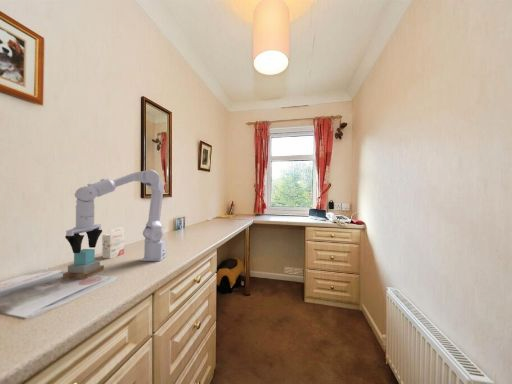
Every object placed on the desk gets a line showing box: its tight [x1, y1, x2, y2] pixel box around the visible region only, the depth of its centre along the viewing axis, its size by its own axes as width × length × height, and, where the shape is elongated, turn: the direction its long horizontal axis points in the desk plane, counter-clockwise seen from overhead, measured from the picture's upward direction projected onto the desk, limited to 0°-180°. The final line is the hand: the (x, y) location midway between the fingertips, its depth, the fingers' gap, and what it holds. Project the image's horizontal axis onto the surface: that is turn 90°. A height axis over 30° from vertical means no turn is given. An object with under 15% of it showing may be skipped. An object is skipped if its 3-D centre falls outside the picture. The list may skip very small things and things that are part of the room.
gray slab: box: [67, 260, 101, 273], centre depth 81 cm, size 7×7×2 cm
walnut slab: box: [62, 264, 105, 279], centre depth 81 cm, size 9×9×2 cm
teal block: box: [73, 248, 96, 265], centre depth 82 cm, size 4×4×5 cm
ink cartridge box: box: [101, 226, 125, 260], centre depth 104 cm, size 9×5×15 cm, turn 168°
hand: (84, 250), depth 82 cm, fingers open, 7 cm apart
